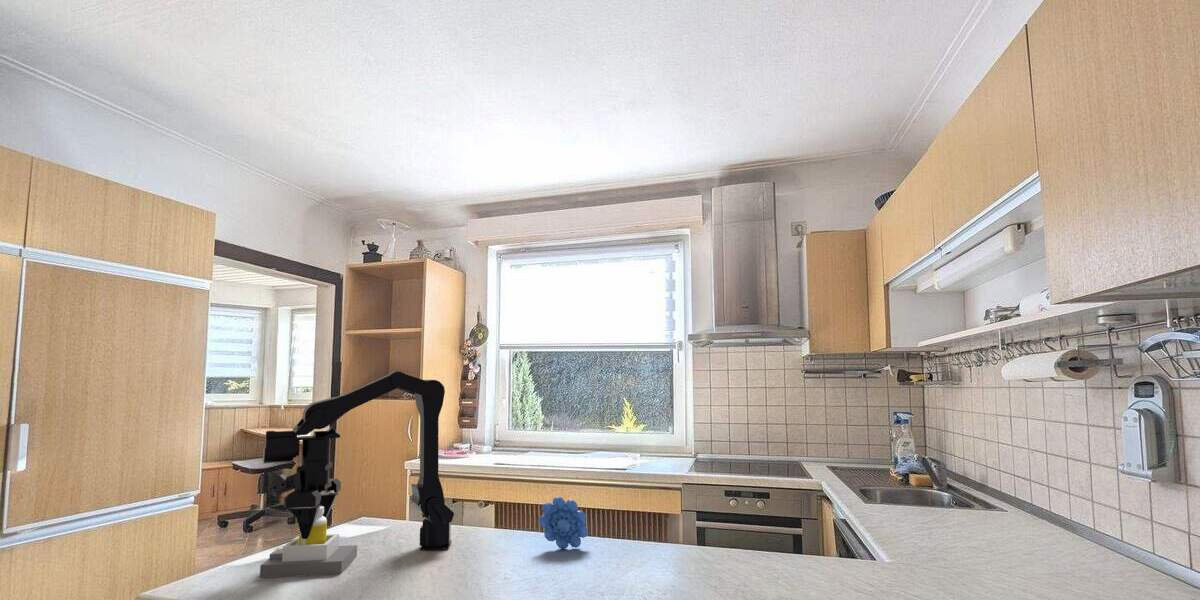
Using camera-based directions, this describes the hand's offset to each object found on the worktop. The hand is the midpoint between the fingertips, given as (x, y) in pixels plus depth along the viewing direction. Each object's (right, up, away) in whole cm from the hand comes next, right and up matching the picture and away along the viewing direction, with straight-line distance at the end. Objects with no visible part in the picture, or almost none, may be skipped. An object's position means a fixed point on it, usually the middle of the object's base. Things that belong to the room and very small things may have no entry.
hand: (312, 533), depth 131 cm
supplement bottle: (0, -5, 0) cm, 5 cm away
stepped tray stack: (0, -7, -1) cm, 7 cm away
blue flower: (+54, -8, +9) cm, 56 cm away
